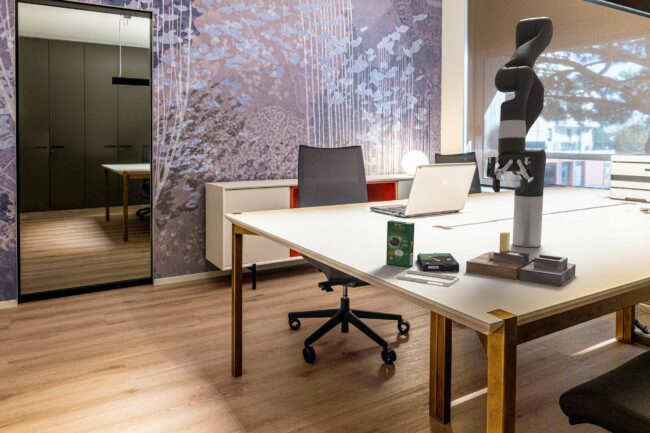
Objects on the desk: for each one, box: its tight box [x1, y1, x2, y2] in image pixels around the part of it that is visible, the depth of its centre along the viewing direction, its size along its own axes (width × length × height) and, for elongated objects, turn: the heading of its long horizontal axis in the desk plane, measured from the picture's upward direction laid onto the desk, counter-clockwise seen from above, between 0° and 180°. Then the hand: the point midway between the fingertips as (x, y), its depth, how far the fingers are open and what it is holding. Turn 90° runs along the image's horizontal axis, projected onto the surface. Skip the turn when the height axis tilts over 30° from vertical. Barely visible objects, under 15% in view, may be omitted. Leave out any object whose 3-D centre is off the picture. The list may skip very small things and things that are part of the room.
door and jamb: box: [465, 249, 577, 288], centre depth 145 cm, size 14×25×6 cm, turn 51°
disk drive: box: [416, 252, 460, 273], centre depth 155 cm, size 10×3×15 cm
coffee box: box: [385, 219, 415, 268], centre depth 156 cm, size 8×3×13 cm, turn 54°
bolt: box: [488, 231, 520, 259], centre depth 147 cm, size 2×8×8 cm, turn 51°
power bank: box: [396, 269, 460, 287], centre depth 141 cm, size 7×1×15 cm
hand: (509, 192), depth 156 cm, fingers open, 8 cm apart
